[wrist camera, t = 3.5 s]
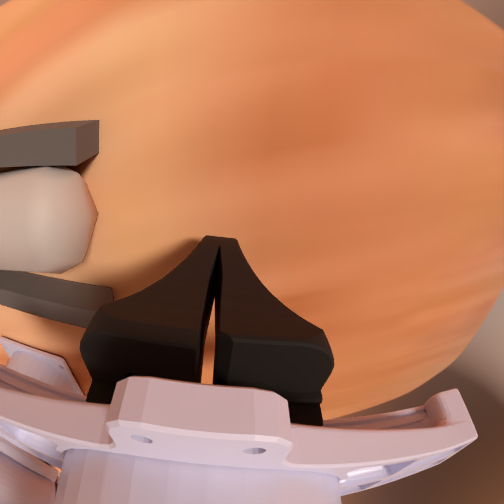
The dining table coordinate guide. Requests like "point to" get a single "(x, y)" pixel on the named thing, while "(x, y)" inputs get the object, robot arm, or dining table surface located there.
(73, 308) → the guide rails
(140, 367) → the robot arm
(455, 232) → the dining table surface
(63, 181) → the tube
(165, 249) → the dining table surface
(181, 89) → the dining table surface
